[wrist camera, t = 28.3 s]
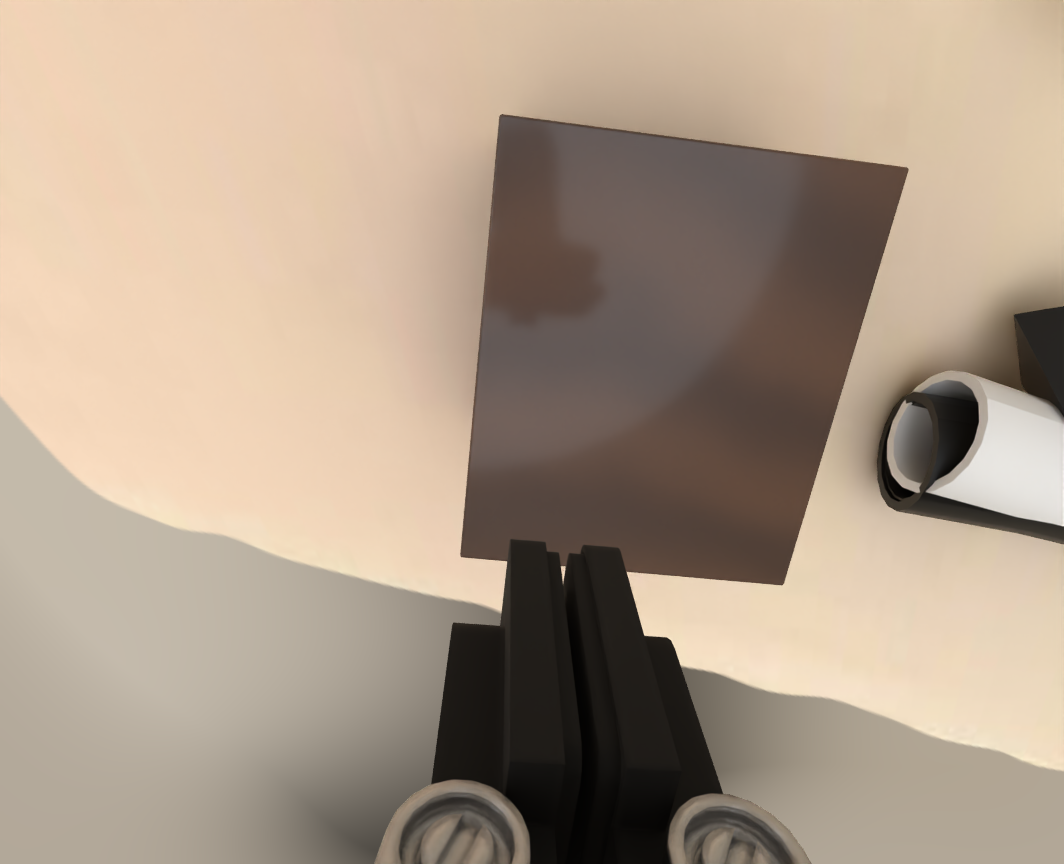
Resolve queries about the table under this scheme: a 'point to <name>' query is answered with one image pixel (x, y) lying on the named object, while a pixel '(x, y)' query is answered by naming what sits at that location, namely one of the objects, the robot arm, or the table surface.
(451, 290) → the table surface
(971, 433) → the curved black white bar
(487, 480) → the lid
